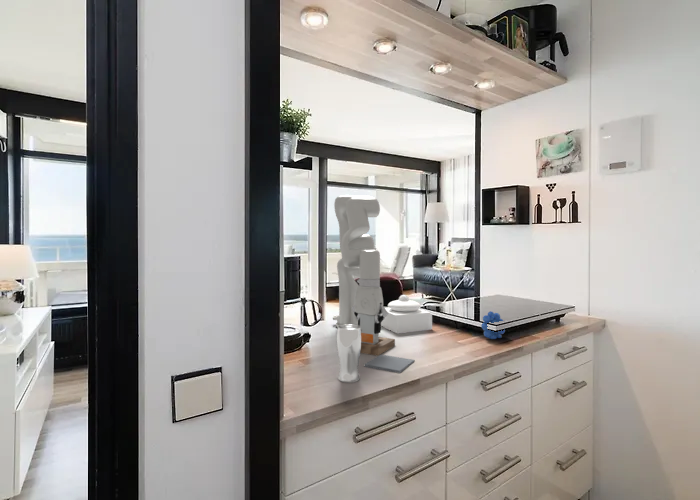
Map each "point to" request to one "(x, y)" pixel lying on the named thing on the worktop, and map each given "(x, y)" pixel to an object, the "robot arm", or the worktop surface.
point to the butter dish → (406, 316)
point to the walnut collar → (378, 346)
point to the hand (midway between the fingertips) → (369, 331)
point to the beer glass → (349, 352)
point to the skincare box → (368, 329)
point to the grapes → (491, 318)
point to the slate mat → (389, 363)
